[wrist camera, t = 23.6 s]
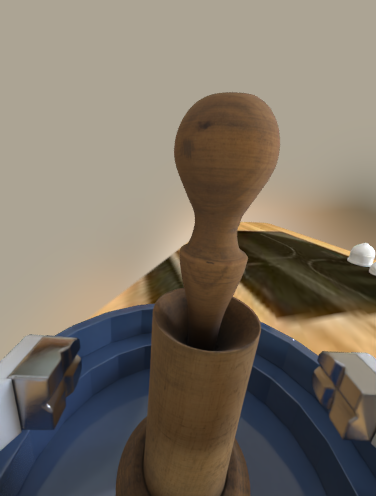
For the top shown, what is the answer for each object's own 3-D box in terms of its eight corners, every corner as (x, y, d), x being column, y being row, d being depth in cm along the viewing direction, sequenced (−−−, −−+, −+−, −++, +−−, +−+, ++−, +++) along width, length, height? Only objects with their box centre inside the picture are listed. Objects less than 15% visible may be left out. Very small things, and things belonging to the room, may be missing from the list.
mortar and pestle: (270, 589, 9) (489, 65, 4) (103, 640, 8) (61, -51, 2) (219, 421, 15) (273, 133, 10) (122, 433, 14) (122, 111, 9)
